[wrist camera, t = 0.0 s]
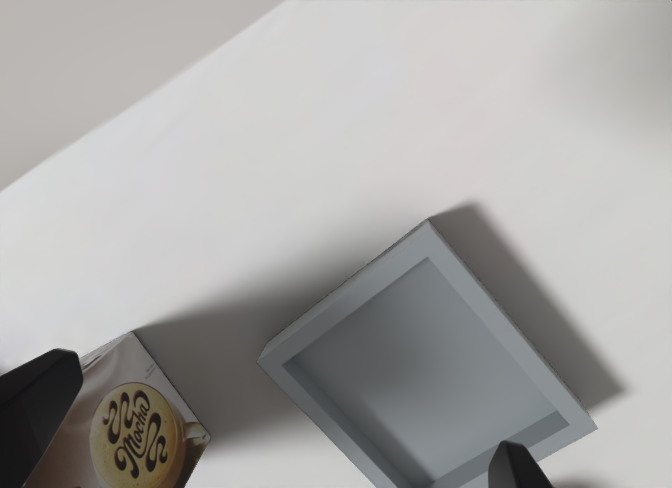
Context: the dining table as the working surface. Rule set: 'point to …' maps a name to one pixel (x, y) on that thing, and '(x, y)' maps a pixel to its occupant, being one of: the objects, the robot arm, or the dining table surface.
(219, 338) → the dining table surface
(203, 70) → the dining table surface
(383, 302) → the grey tray
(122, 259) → the dining table surface
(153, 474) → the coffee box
